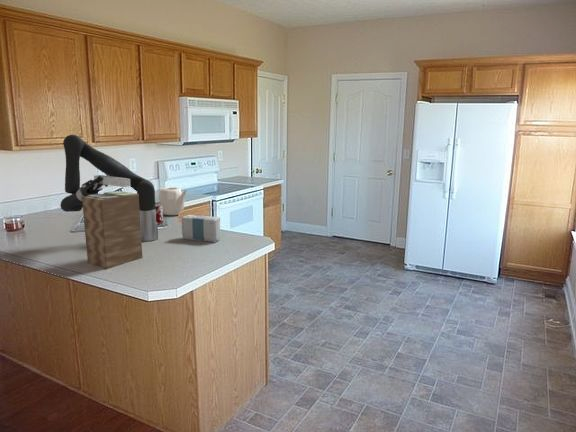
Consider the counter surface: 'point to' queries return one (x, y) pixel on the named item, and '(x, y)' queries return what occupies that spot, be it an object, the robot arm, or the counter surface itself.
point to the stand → (112, 228)
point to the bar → (114, 181)
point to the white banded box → (201, 227)
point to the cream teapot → (172, 200)
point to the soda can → (159, 213)
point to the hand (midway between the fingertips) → (104, 177)
